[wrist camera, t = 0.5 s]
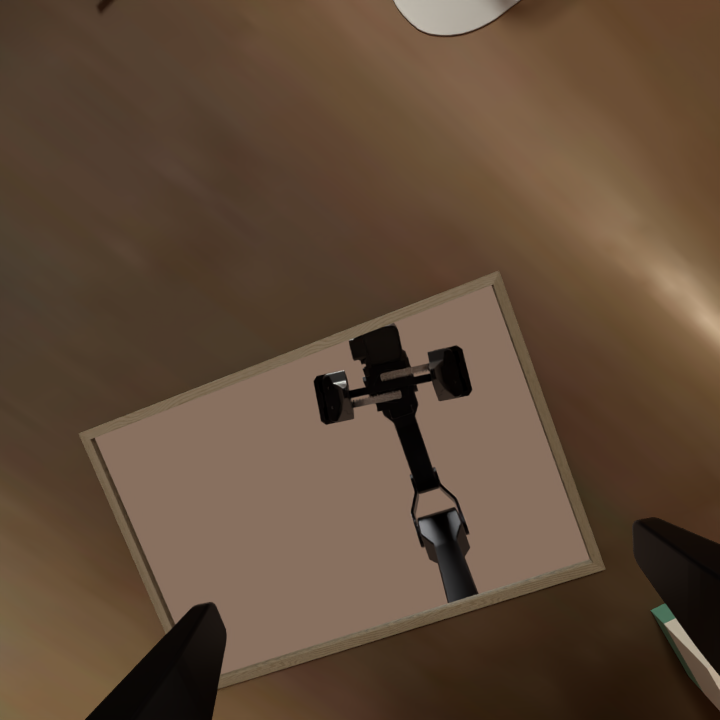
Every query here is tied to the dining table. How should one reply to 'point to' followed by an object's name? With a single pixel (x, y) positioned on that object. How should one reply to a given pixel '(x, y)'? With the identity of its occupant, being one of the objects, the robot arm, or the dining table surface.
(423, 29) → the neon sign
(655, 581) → the robot arm
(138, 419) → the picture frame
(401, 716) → the dining table surface
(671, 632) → the mahjong tile
